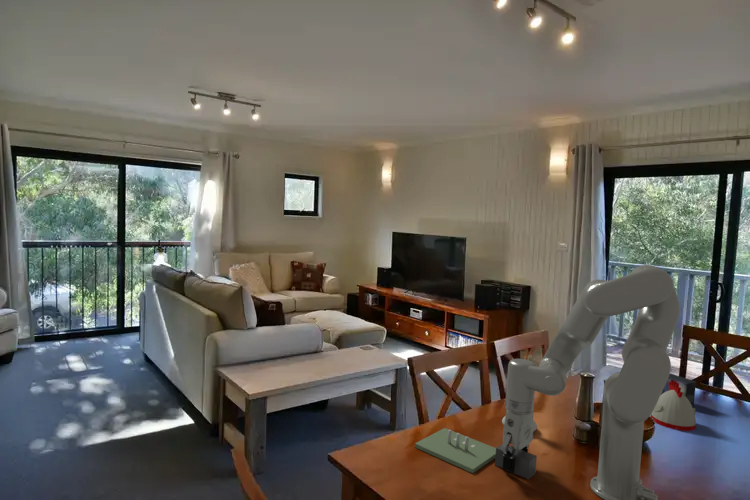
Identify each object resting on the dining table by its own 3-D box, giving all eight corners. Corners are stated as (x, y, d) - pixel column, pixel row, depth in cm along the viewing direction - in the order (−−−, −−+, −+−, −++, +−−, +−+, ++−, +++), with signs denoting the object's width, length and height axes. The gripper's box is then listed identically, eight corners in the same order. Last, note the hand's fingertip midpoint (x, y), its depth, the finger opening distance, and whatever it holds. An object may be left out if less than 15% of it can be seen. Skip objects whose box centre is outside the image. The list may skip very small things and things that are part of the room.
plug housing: (535, 473, 131) (536, 455, 131) (528, 479, 128) (529, 461, 127) (502, 459, 138) (503, 443, 137) (494, 465, 134) (496, 448, 134)
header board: (500, 454, 141) (501, 437, 141) (472, 473, 129) (474, 455, 129) (444, 431, 154) (445, 416, 154) (414, 447, 143) (415, 430, 142)
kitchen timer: (682, 416, 178) (686, 377, 177) (704, 432, 164) (708, 390, 163) (643, 413, 179) (647, 374, 178) (662, 429, 165) (665, 387, 164)
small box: (658, 399, 195) (660, 374, 194) (668, 397, 198) (670, 373, 197) (684, 409, 185) (686, 383, 185) (694, 407, 188) (697, 381, 187)
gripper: (518, 417, 123) (513, 482, 124) (545, 400, 135) (540, 460, 137) (492, 408, 128) (487, 471, 129) (520, 393, 141) (516, 450, 142)
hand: (514, 465), depth 133 cm, fingers open, 7 cm apart
